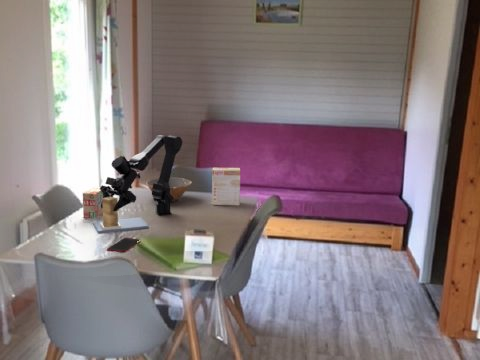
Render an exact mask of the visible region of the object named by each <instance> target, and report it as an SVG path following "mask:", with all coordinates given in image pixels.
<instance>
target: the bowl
mask: <svg viewBox="0 0 480 360" xmlns="http://www.w3.org/2000/svg"><path fill="white" fill-rule="evenodd" d="M158 181H159V177H156V178H153V179H149V180H147V181H146V186H147V187H148V189H149V191H151V190H152V188H153V184H154V183H157V182H158ZM191 185H192V181H191V179H187V178H184V177H173V176H172V177H171V176H170V179H169V186H170V194H171V195H172V197H173V198H174V199H173V202H175V201H177V200H179V199H180V198H181V197H182V196H183V195H184V194H185V193H186V192H187V190H188V189H189V188H190V187H191Z"/></svg>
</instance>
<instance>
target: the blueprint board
mask: <svg viewBox="0 0 480 360" xmlns="http://www.w3.org/2000/svg"><path fill="white" fill-rule="evenodd" d="M92 224H93V226H94V228H95V229H96V232H97V234H105V233H112V232H122V231H130V230H131V231H133V230H141V229H148V228H149V224H147V222H146V221H145V220H144V219H143V218H142V217H141V216H140V217H129V218H120V219H119V218H118V226H111V227H104V226H103V220H101V221H100V220H99V221H93V222H92Z"/></svg>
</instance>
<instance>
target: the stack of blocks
mask: <svg viewBox="0 0 480 360" xmlns="http://www.w3.org/2000/svg"><path fill="white" fill-rule="evenodd" d="M102 198H103V193H102V191H101V190H100V187H97V186H96V187H95V186H94V187H91V188H89V189H88V190H86V191H84V192H82V208H83V212H82V213H83V218H85V217H86V218H87V219H97V218H99V217H100V216H103V208H101V203H102ZM98 216H99V217H98Z"/></svg>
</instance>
